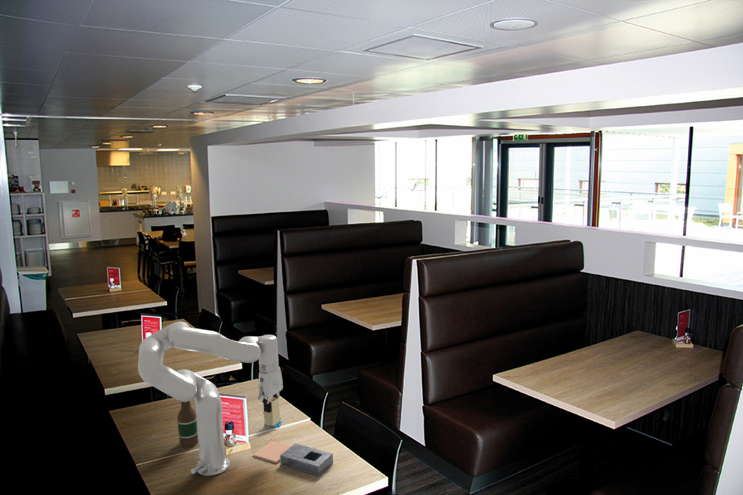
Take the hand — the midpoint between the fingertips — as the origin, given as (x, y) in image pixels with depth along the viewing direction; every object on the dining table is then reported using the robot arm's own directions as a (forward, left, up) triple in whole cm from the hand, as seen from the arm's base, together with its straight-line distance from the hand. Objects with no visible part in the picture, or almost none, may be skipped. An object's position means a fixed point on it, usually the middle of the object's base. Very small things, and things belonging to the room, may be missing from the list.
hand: (271, 408), depth 217 cm
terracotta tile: (0, 0, -19) cm, 19 cm away
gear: (+19, +16, -19) cm, 31 cm away
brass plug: (0, 0, -6) cm, 6 cm away
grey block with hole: (-1, -17, -19) cm, 26 cm away
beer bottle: (-10, +38, -19) cm, 44 cm away
